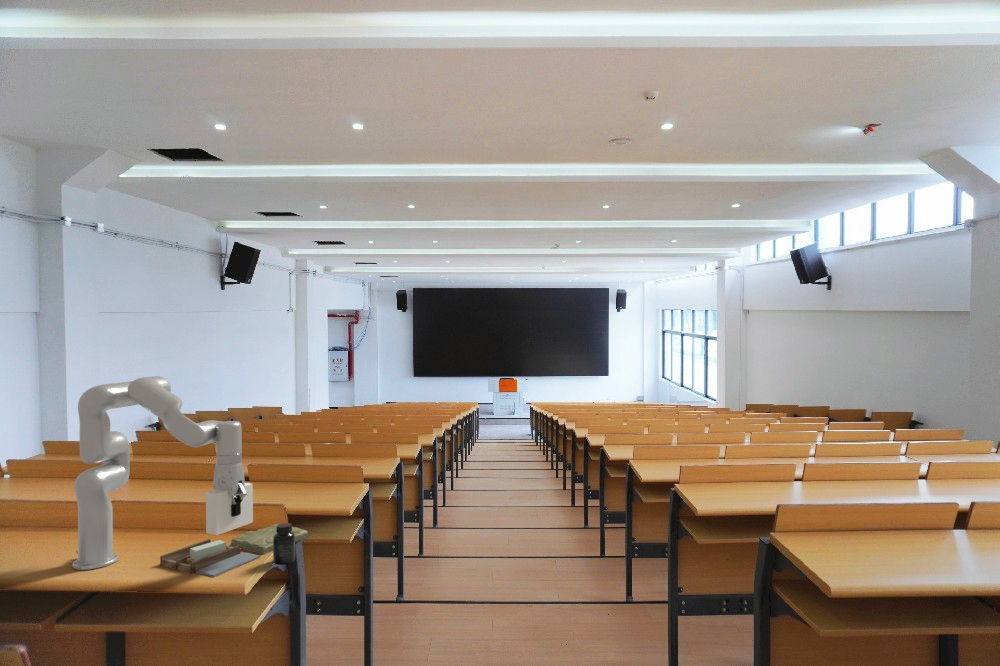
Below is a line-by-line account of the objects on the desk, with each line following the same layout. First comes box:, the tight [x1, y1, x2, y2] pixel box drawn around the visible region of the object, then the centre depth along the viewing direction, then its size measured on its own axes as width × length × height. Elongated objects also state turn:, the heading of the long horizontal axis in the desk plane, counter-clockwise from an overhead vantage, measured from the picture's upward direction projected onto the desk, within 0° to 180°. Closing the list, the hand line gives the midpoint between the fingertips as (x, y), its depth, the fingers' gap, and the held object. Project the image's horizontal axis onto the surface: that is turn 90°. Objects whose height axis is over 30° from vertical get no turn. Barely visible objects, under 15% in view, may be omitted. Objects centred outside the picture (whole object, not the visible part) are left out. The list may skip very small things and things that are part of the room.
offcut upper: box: [190, 539, 227, 560], centre depth 195 cm, size 4×10×3 cm, turn 143°
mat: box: [196, 551, 261, 578], centre depth 193 cm, size 8×18×1 cm, turn 154°
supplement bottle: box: [272, 522, 296, 566], centre depth 196 cm, size 7×7×12 cm
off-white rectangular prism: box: [205, 482, 254, 536], centre depth 193 cm, size 5×14×13 cm, turn 154°
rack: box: [159, 538, 241, 574], centre depth 197 cm, size 16×18×3 cm
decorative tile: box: [230, 523, 309, 555], centre depth 215 cm, size 19×20×4 cm
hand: (230, 513), depth 193 cm, fingers closed on off-white rectangular prism, 4 cm apart
